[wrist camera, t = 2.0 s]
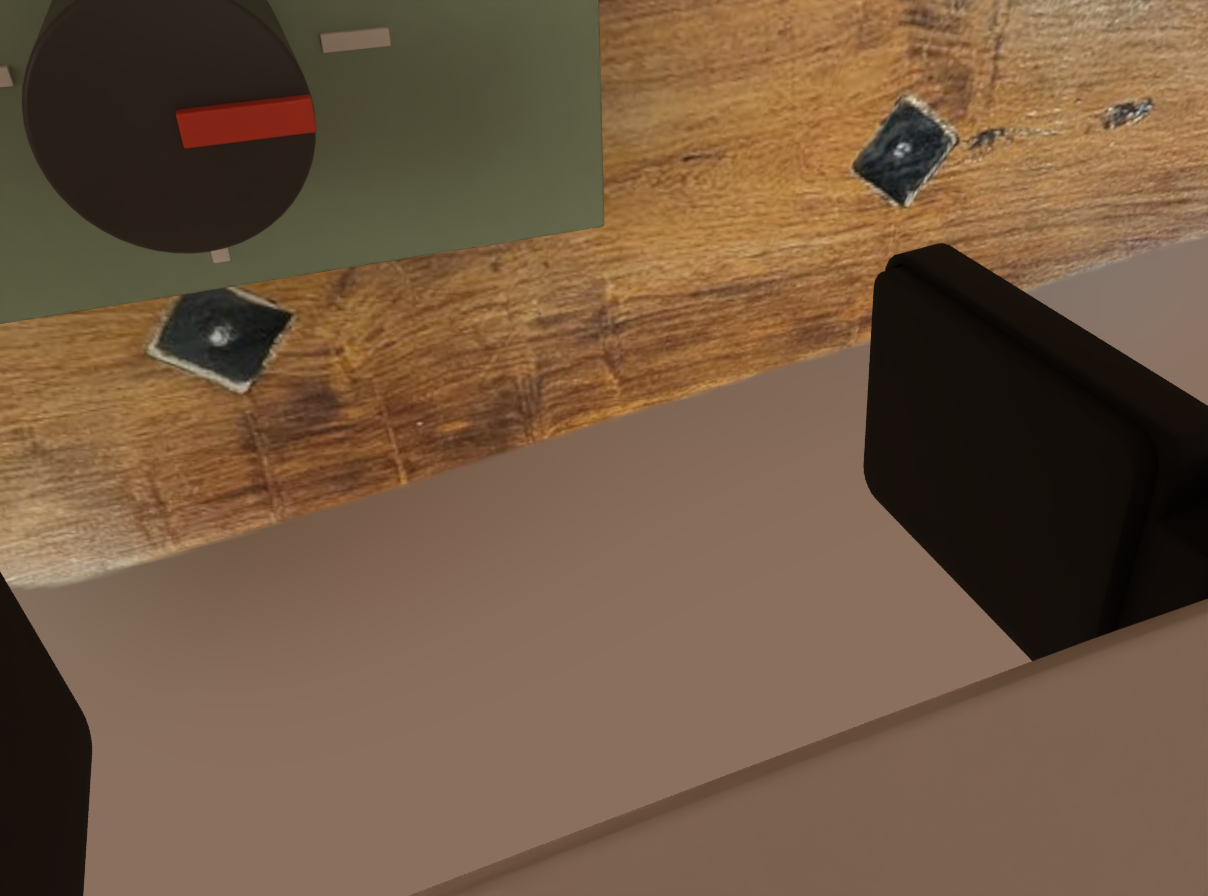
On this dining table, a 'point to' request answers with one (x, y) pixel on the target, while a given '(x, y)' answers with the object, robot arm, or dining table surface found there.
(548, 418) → the dining table surface
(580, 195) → the panel
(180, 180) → the knob
